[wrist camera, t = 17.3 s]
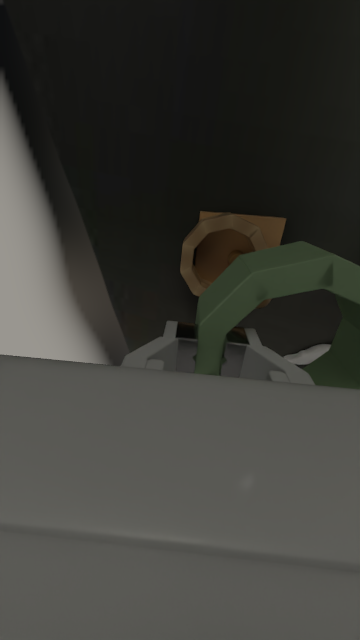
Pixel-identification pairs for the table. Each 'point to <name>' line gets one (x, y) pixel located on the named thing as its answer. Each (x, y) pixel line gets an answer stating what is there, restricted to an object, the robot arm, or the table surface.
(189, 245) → the birch ring
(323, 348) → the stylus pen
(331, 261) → the sage ring
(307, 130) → the table surface
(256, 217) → the peg stand
